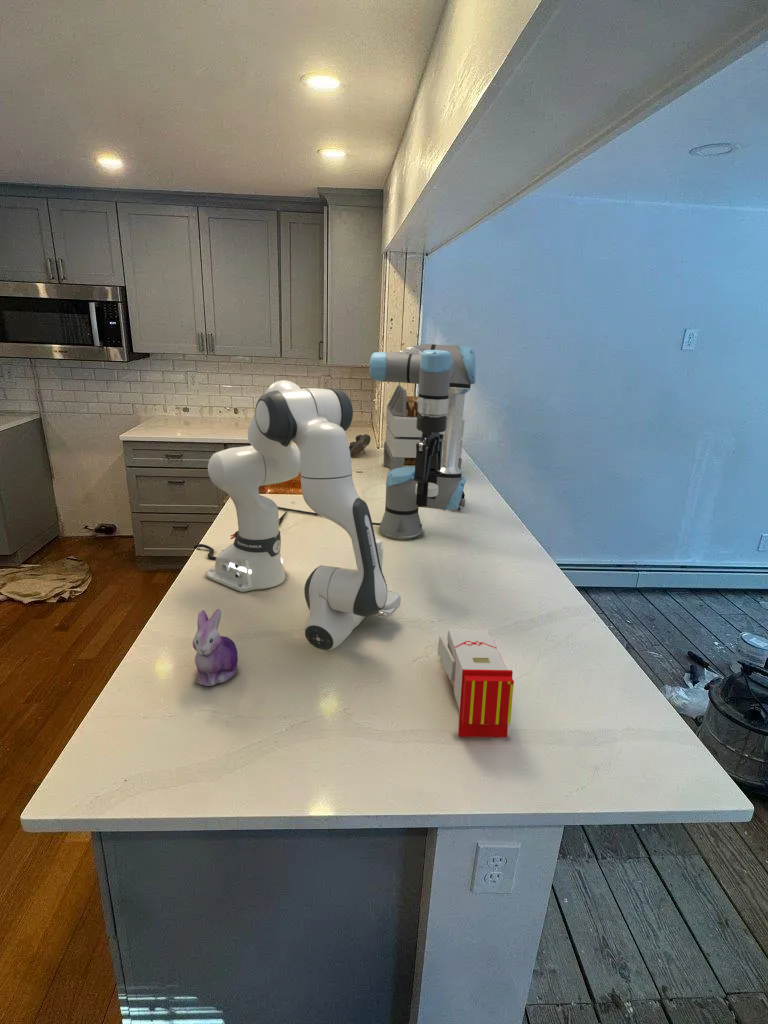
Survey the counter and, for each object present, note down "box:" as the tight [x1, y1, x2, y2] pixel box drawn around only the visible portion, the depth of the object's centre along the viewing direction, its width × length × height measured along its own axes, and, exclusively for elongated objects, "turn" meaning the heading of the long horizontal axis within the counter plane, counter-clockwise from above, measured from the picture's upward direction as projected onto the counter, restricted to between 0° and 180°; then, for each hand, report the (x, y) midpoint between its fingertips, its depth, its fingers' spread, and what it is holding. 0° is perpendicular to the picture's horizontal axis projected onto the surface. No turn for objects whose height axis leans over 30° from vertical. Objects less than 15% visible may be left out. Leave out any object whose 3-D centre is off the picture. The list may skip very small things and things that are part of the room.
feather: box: [279, 510, 288, 526], centre depth 213 cm, size 2×28×2 cm
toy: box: [437, 628, 515, 738], centre depth 117 cm, size 12×13×30 cm
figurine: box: [192, 608, 239, 687], centre depth 118 cm, size 9×10×15 cm
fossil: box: [349, 433, 372, 458], centre depth 305 cm, size 22×10×15 cm
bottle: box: [375, 536, 384, 571], centre depth 148 cm, size 5×5×19 cm
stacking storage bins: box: [383, 384, 465, 472], centre depth 268 cm, size 34×33×41 cm
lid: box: [415, 482, 439, 497], centre depth 149 cm, size 6×6×2 cm
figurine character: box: [457, 490, 466, 511], centre depth 229 cm, size 7×8×15 cm
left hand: (372, 583), depth 150 cm, fingers closed on bottle, 5 cm apart
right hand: (426, 501), depth 150 cm, fingers closed on lid, 6 cm apart
